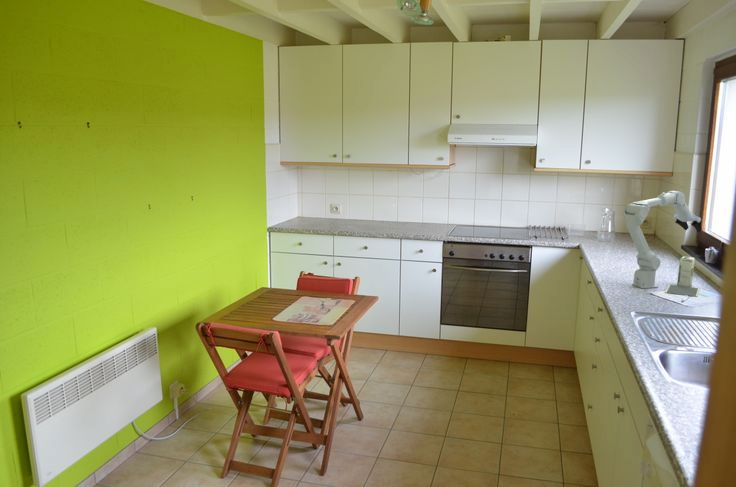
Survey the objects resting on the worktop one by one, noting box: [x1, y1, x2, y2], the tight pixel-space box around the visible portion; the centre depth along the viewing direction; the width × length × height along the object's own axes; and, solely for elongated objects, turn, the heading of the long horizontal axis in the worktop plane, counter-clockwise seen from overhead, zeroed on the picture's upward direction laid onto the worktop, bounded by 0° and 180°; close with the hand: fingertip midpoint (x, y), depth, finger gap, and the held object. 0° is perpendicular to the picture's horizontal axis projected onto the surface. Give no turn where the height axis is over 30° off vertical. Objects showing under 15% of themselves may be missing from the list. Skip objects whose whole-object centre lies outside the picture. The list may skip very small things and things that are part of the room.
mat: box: [664, 284, 701, 298], centre depth 289 cm, size 18×14×1 cm
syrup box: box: [676, 256, 696, 287], centre depth 298 cm, size 6×6×14 cm
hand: (693, 229), depth 303 cm, fingers open, 7 cm apart
